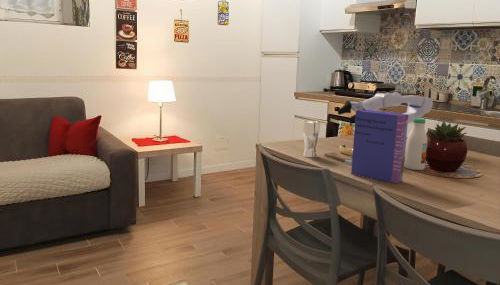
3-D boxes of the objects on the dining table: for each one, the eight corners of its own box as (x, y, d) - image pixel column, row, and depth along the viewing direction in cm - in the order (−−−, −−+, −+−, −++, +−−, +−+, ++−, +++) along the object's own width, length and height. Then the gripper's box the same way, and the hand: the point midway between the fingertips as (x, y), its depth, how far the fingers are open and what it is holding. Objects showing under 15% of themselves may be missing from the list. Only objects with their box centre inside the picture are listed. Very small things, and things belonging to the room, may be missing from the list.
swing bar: (361, 156, 188) (362, 148, 187) (355, 157, 186) (355, 149, 185) (343, 151, 198) (343, 143, 197) (336, 151, 196) (337, 144, 196)
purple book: (401, 181, 158) (408, 114, 153) (396, 183, 154) (403, 115, 150) (357, 172, 169) (362, 109, 164) (351, 174, 165) (356, 110, 161)
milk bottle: (414, 171, 172) (420, 120, 168) (399, 166, 179) (404, 117, 175) (428, 169, 176) (434, 119, 172) (413, 165, 183) (418, 116, 179)
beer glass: (317, 158, 189) (320, 123, 187) (301, 157, 191) (303, 122, 188) (318, 154, 196) (320, 121, 193) (302, 153, 197) (304, 120, 195)
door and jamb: (356, 152, 203) (356, 143, 202) (399, 165, 180) (400, 155, 180) (324, 155, 194) (324, 146, 194) (365, 170, 172) (366, 159, 171)
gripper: (357, 92, 199) (333, 101, 193) (381, 104, 188) (357, 114, 182) (355, 105, 202) (333, 115, 197) (379, 118, 192) (356, 129, 186)
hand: (344, 115), depth 190 cm, fingers open, 7 cm apart
